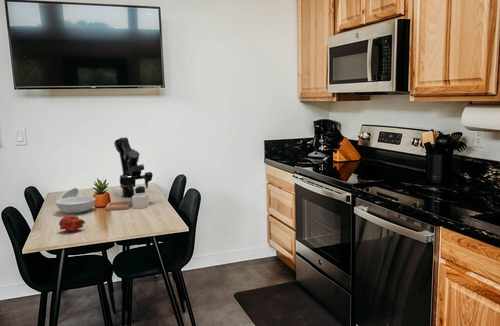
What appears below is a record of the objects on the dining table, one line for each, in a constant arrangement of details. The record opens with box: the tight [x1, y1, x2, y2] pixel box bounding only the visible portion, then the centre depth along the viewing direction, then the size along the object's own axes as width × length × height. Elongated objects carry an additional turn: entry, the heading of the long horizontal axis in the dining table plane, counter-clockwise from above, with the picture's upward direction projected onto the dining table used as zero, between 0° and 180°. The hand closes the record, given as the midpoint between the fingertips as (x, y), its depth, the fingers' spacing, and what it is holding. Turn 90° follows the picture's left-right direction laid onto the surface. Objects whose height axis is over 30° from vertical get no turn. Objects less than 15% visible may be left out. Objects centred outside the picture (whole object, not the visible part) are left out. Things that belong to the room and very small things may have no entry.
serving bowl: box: [55, 195, 96, 214], centre depth 244 cm, size 21×21×7 cm
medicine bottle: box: [131, 186, 150, 209], centre depth 249 cm, size 7×7×12 cm
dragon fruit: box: [58, 215, 86, 233], centre depth 206 cm, size 8×8×12 cm
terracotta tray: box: [105, 200, 132, 212], centre depth 250 cm, size 12×12×2 cm
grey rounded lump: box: [61, 187, 79, 199], centre depth 267 cm, size 11×10×10 cm
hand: (139, 189), depth 249 cm, fingers open, 9 cm apart
